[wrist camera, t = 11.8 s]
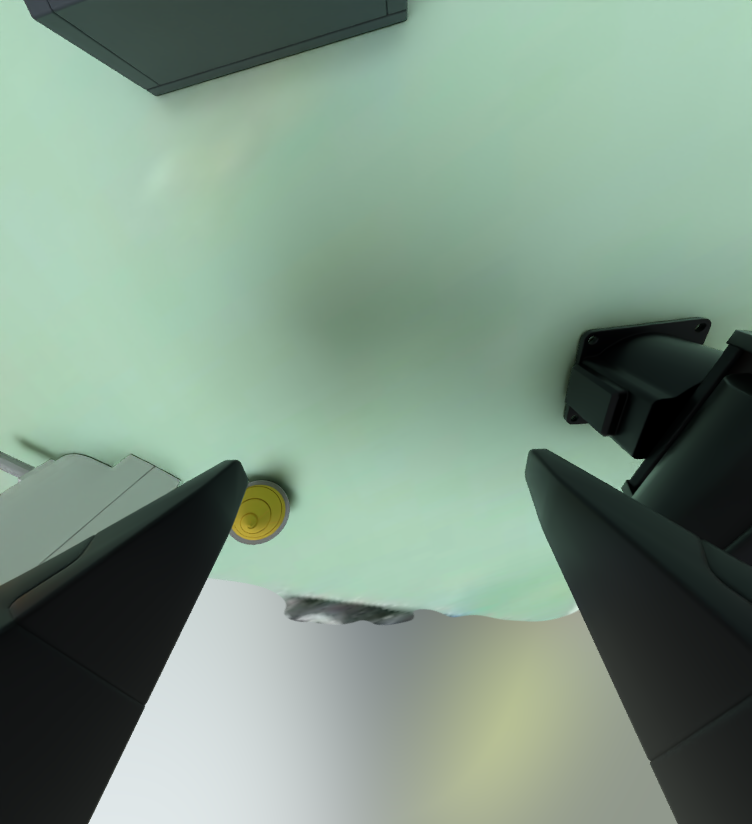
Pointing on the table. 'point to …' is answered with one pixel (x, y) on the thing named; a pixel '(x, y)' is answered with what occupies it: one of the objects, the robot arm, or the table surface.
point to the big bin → (205, 32)
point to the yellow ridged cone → (261, 513)
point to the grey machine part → (68, 504)
